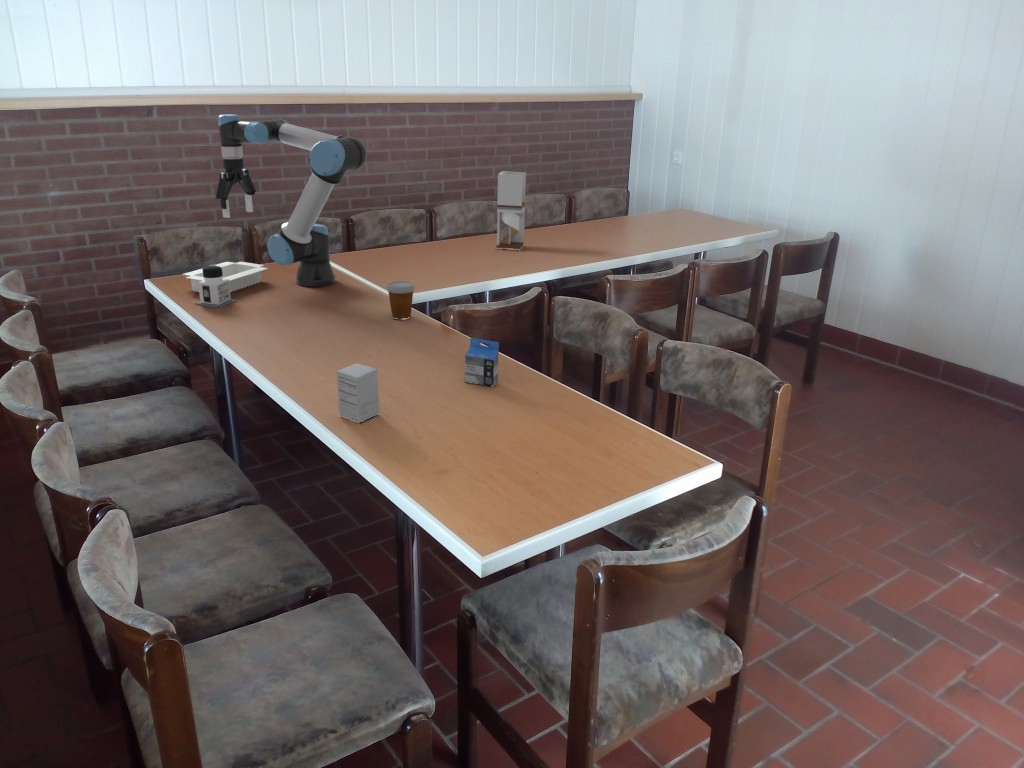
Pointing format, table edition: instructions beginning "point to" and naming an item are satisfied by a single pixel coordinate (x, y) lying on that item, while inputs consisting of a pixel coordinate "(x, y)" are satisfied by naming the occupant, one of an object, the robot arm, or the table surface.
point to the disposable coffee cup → (401, 298)
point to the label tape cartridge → (482, 362)
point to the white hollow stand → (511, 209)
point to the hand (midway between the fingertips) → (238, 214)
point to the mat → (214, 304)
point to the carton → (231, 275)
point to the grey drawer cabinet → (358, 392)
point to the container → (214, 286)
